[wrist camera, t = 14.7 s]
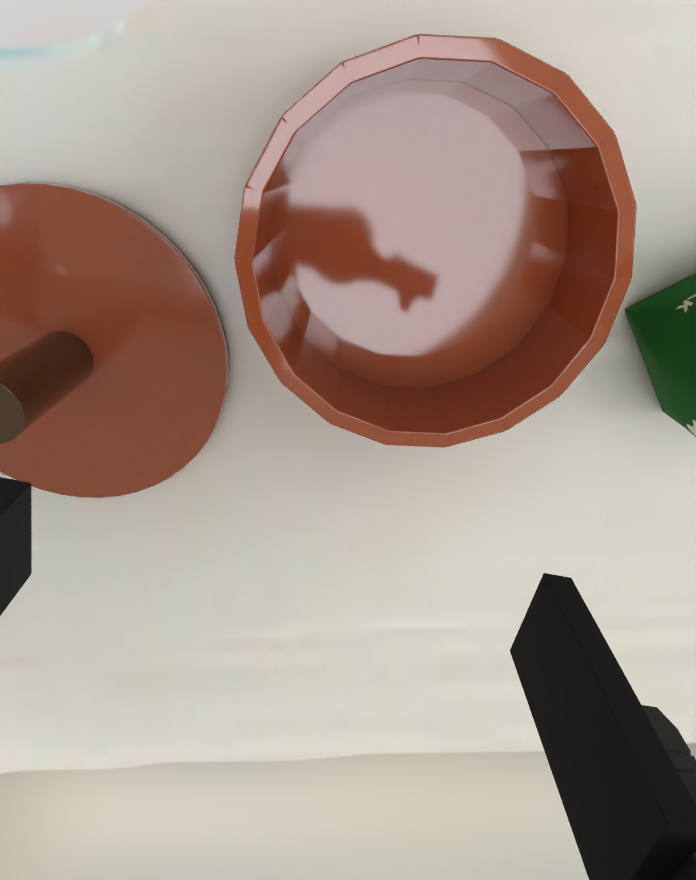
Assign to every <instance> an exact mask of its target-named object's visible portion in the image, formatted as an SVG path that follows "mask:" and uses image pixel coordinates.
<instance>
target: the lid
mask: <svg viewBox="0 0 696 880" xmlns="http://www.w3.org/2000/svg"><path fill="white" fill-rule="evenodd" d="M228 372H229V367H228V351H227V345H226V340H225V335H224V330H223V327H222V324H221V321H220V318H219V315H218V312H217V309H216V306H215V304H214V302H213V300H212V298H211V296H210V294H209V292H208V290H207V288H206V286H205V285H204V283H203V281H202V280H201V278H200V277H199V275H198V274H197V272H196V270H195V269H194V268H193V266H192V265H191V264H190V263H189V261H188V260H187V259H186V258H185V256H184V255H183V254H182V253H181V252H180V250H179V249H178V248H177V247H176V246H175V245H174V244H173V243H172V242H171V241H170V240H168V239H167V238H166V237H165V236H164V235H163V234H162V233H161V232H160V231H159V230H157V229H156V228H155V227H153V226H152V225H151V224H150V223H148V222H147V221H146V220H144V219H143V218H142V217H140V216H138V215H137V214H135V213H133V212H132V211H130V210H128V209H127V208H125V207H123V206H122V205H120V204H118V203H115V202H113V201H111V200H109V199H106V198H104V197H102V196H100V195H97V194H94V193H91V192H87V191H84V190H81V189H77V188H74V187H68V186H62V185H56V184H45V183H21V184H13V185H4V186H0V472H2V473H4V474H5V475H7V476H10V477H12V478H14V479H16V480H18V481H23V482H29V483H31V486H33V487H36V488H39V489H41V490H45V491H49V492H53V493H57V494H61V495H69V496H76V497H94V498H101V497H112V496H120V495H125V494H130V493H134V492H138V491H141V490H144V489H146V488H149V487H152V486H154V485H156V484H158V483H160V482H162V481H164V480H166V479H168V478H170V477H171V476H172V475H174V474H175V473H177V472H178V471H180V470H181V469H182V468H184V467H185V466H186V465H187V464H188V463H189V462H190V461H191V460H192V459H193V458H194V457H195V456H196V455H197V454H198V452H199V451H200V450H201V449H202V447H203V446H204V445H205V444H206V442H207V440H208V439H209V437H210V435H211V433H212V432H213V430H214V428H215V426H216V424H217V422H218V419H219V417H220V414H221V411H222V409H223V406H224V401H225V396H226V392H227V385H228Z"/></svg>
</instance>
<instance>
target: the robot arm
mask: <svg viewBox="0 0 696 880" xmlns="http://www.w3.org/2000/svg"><path fill="white" fill-rule="evenodd" d="M30 575H31V483H29V482H23V481H18V480H12V479H6V478H1V477H0V615H1V614H2V613H3V611H4V610H5V609H6V607H7V606H8V605H9V603H10V602H11V601H12V599H13V598H14V597H15V595H16V594H17V592H18V591H19V590H20V588H21V587H22V586H23V584H24V583H25V582H26V580H27V579H28V578H29V576H30ZM510 652H511V655H512V658H513V661H514V664H515V667H516V670H517V673H518V675H519V678H520V681H521V684H522V687H523V690H524V693H525V696H526V699H527V701H528V704H529V707H530V710H531V713H532V716H533V719H534V722H535V725H536V727H537V730H538V733H539V736H540V739H541V742H542V745H543V748H544V750H545V753H546V756H547V759H548V762H549V765H550V768H551V771H552V774H553V776H554V779H555V782H556V785H557V788H558V791H559V794H560V797H561V799H562V802H563V805H564V808H565V811H566V814H567V816H568V820H569V822H570V826H571V828H572V831H573V834H574V837H575V840H576V843H577V846H578V848H579V851H580V854H581V857H582V860H583V863H584V866H585V869H586V872H587V875H588V877H589V880H696V760H695V758H694V756H691V755H690V750H689V748H688V746H687V744H686V743H685V741H684V739H683V738H682V736H681V734H680V733H679V731H678V729H677V728H676V727H675V726H674V725H673V724H672V723H671V722H670V721H669V720H668V719H667V718H666V717H665V715H664V714H663V713H662V712H661V711H660V710H659V709H658V708H657V707H651V706H644V705H641V704H640V702H639V700H638V698H637V696H636V695H635V693H634V691H633V689H632V687H631V685H630V684H629V682H628V680H627V678H626V676H625V675H624V673H623V671H622V669H621V667H620V666H619V664H618V662H617V660H616V658H615V657H614V655H613V653H612V651H611V649H610V647H609V646H608V644H607V642H606V640H605V638H604V637H603V635H602V633H601V631H600V629H599V628H598V626H597V624H596V622H595V620H594V619H593V617H592V615H591V613H590V611H589V609H588V608H587V606H586V604H585V602H584V600H583V599H582V597H581V595H580V593H579V591H578V590H577V588H576V586H575V584H574V582H573V580H572V579H571V578H569V577H563V576H557V575H552V574H546V573H544V574H543V576H542V579H541V581H540V583H539V585H538V588H537V590H536V592H535V595H534V597H533V599H532V601H531V604H530V606H529V608H528V611H527V613H526V615H525V617H524V620H523V622H522V624H521V627H520V629H519V631H518V633H517V636H516V638H515V640H514V643H513V645H512V647H511V649H510Z"/></svg>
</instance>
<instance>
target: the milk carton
mask: <svg viewBox="0 0 696 880" xmlns="http://www.w3.org/2000/svg"><path fill="white" fill-rule="evenodd" d="M625 311H626V314H627V317H628V319H629V322H630V325H631V327H632V330H633V333H634V336H635V338H636V341H637V344H638V346H639V349H640V352H641V354H642V357H643V360H644V362H645V365H646V368H647V370H648V373H649V376H650V379H651V381H652V384H653V387H654V389H655V392H656V395H657V397H658V400H659V403H660V405H661V408H662V411H663V412H664V413H666V414H667V415H669V416H670V417H671V418H673V419H674V420H675V421H677V422H678V423H679V424H681V425H682V426H683V427H685V428H686V429H687V430H688V431H690V432H691V433H692V434H693V435H694V436H695V437H696V274H694V275H692V276H690V277H688V278H686V279H684V280H682V281H680V282H678V283H676V284H674V285H672V286H670V287H668V288H666V289H664V290H662V291H660V292H658V293H656V294H654V295H652V296H650V297H648V298H646V299H644V300H642V301H641V302H639V303H637V304H635V305H633V306H631V307H629V308H627V309H625Z"/></svg>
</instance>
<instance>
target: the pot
mask: <svg viewBox="0 0 696 880" xmlns="http://www.w3.org/2000/svg"><path fill="white" fill-rule="evenodd" d="M635 222H636V201H635V198H634V195H633V191H632V188H631V185H630V181H629V178H628V174H627V171H626V168H625V164H624V161H623V158H622V154H621V151H620V148H619V144H618V141H617V137H616V135H615V133H614V131H613V130H612V129H611V127H610V126H609V125H608V124H607V122H606V121H605V120H604V119H603V118H602V116H601V115H600V114H599V113H598V111H597V110H596V109H595V108H594V106H593V105H592V104H591V103H590V101H589V100H588V99H587V98H586V96H585V95H584V94H583V93H582V91H581V90H580V89H579V88H578V87H577V85H576V84H575V83H574V82H573V80H572V79H571V78H570V77H569V75H566V73H565V72H563V71H561V70H559V69H557V68H555V67H553V66H551V65H549V64H547V63H545V62H543V61H541V60H539V59H537V58H536V57H534V56H532V55H530V54H528V53H526V52H524V51H522V50H520V49H518V48H516V47H514V46H512V45H510V44H508V43H506V42H504V41H503V40H501V39H497V38H488V37H469V36H450V35H432V34H418V35H413V36H410V37H408V38H405V39H402V40H400V41H397V42H394V43H391V44H389V45H386V46H383V47H381V48H378V49H375V50H372V51H370V52H367V53H364V54H362V55H359V56H356V57H353V58H351V59H348V60H345V61H343V62H342V63H340V64H338V65H337V66H336V67H335V68H334V69H333V70H332V71H331V72H330V73H328V74H327V75H326V76H325V77H324V78H323V79H322V80H321V81H319V82H318V83H317V84H316V85H315V86H314V87H313V88H312V89H311V90H309V91H308V92H307V93H306V94H305V95H304V96H303V97H302V98H301V99H299V100H298V101H297V102H296V103H295V104H294V105H293V106H292V107H291V108H289V109H288V110H287V111H286V112H285V113H284V114H283V115H282V117H281V118H280V119H279V121H278V123H277V125H276V127H275V129H274V131H273V133H272V135H271V136H270V138H269V140H268V142H267V144H266V146H265V148H264V150H263V152H262V154H261V156H260V157H259V159H258V161H257V163H256V165H255V167H254V169H253V171H252V173H251V175H250V177H249V178H248V180H247V182H246V186H245V187H244V193H243V200H242V207H241V215H240V222H239V229H238V236H237V243H236V250H235V265H236V270H237V275H238V280H239V285H240V290H241V295H242V300H243V305H244V310H245V315H246V320H247V325H248V327H249V330H250V332H251V333H252V335H253V337H254V338H255V340H256V342H257V343H258V345H259V347H260V348H261V350H262V352H263V354H264V355H265V357H266V359H267V360H268V362H269V364H270V365H271V367H272V369H273V370H274V372H275V374H276V375H277V377H278V379H279V380H280V382H281V383H282V384H283V385H284V386H285V387H287V388H288V389H289V390H290V391H291V392H293V393H294V394H295V395H296V396H297V397H299V398H300V399H301V400H302V401H303V402H304V403H306V404H307V405H308V406H309V407H310V408H312V409H313V410H314V411H315V412H316V413H318V414H319V415H320V416H321V417H322V418H324V419H325V420H326V421H327V422H329V423H330V424H333V425H335V426H338V427H340V428H343V429H346V430H348V431H351V432H353V433H356V434H359V435H361V436H364V437H366V438H369V439H372V440H374V441H377V442H379V443H382V444H386V445H402V446H425V447H449V446H452V445H456V444H460V443H463V442H467V441H471V440H474V439H478V438H482V437H485V436H489V435H493V434H496V433H500V432H504V431H505V430H508V429H510V428H511V427H513V426H514V425H516V424H518V423H519V422H521V421H522V420H524V419H525V418H527V417H529V416H530V415H532V414H533V413H535V412H536V411H538V410H539V409H541V408H543V407H544V406H546V405H547V404H549V403H550V402H552V401H554V400H555V399H557V398H558V397H560V395H562V394H563V393H564V391H565V390H566V389H567V388H568V387H569V385H570V384H571V383H572V382H573V381H574V380H575V378H576V377H577V376H578V375H579V374H580V372H581V371H582V370H583V369H584V368H585V367H586V365H587V364H588V363H589V362H590V361H591V359H592V358H593V357H594V356H595V355H596V353H597V352H598V351H599V350H600V349H601V348H602V346H603V345H604V344H605V342H606V340H607V337H608V335H609V332H610V330H611V327H612V325H613V323H614V320H615V318H616V315H617V313H618V311H619V308H620V306H621V303H622V301H623V299H624V296H625V294H626V291H627V289H628V287H629V284H630V282H631V278H632V267H633V252H634V237H635Z"/></svg>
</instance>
